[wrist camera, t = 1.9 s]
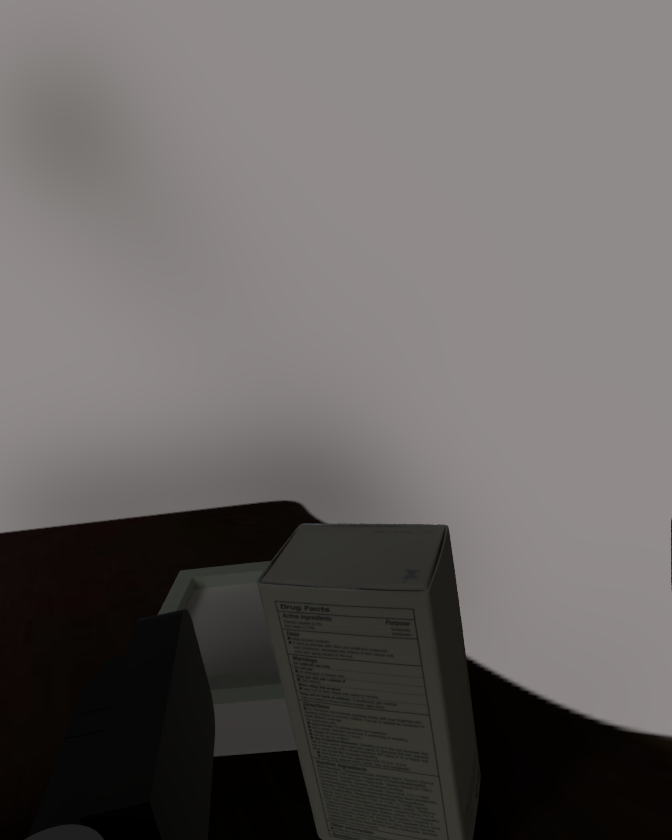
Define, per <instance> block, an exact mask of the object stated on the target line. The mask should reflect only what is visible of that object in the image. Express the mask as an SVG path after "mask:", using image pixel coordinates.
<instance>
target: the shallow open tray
mask: <svg viewBox="0 0 672 840" xmlns="http://www.w3.org/2000/svg"><path fill="white" fill-rule="evenodd" d="M270 562H271V561H266V562H256V563H247V564H238V565H229V566H219V567H210V568H201V569H191V570H182V571H180V572H179V574H178V576H177V578H176V580H175V582H174V584H173V586H172V588H171V590H170V592H169V594H168V596H167V598H166V600H165V602H164V604H163V606H162V608H161V610H160V611H159V613H158V615H160V614H165V613H170V612H174V611H179V610H184V609H187V610H188V612H189V614H190V616H191V619H192V622H193V626H194V629H195V633H196V637H197V641H198V644H199V648H200V652H201V656H202V660H203V663H204V667H205V671H206V675H207V679H208V682H209V686H210V690H211V695H212V700H213V707H214V716H215V742H214V757H215V756H227V755H240V754H252V753H264V752H277V751H289V750H297V746H296V742H295V738H294V734H293V730H292V726H291V722H290V718H289V714H288V709H287V705H286V701H285V697H284V693H283V689H282V685H281V681H280V676H279V672H278V668H277V664H276V660H275V656H274V651H273V647H272V643H271V639H270V635H269V631H268V627H267V623H266V619H265V615H264V611H263V606H262V602H261V598H260V594H259V590H258V586H257V579H258V578H259V577H260V575H261V574H262V572H263V571H264V570H265V569H266V567H267V566H268V565H269V563H270Z"/></svg>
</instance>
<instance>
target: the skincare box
mask: <svg viewBox="0 0 672 840" xmlns="http://www.w3.org/2000/svg"><path fill="white" fill-rule="evenodd" d="M257 586H258V590H259V594H260V598H261V602H262V606H263V611H264V615H265V619H266V623H267V627H268V631H269V635H270V639H271V643H272V647H273V651H274V656H275V660H276V664H277V668H278V672H279V676H280V681H281V685H282V689H283V693H284V697H285V701H286V705H287V709H288V714H289V718H290V722H291V726H292V730H293V734H294V738H295V742H296V746H297V751H298V755H299V760H300V763H301V768H302V772H303V776H304V780H305V784H306V788H307V792H308V796H309V800H310V804H311V808H312V813H313V817H314V821H315V825H316V829H317V833H318V836H319V837H320V839H322V840H473V834H474V828H475V821H476V814H477V807H478V799H479V789H480V780H481V773H480V766H479V758H478V750H477V742H476V733H475V725H474V718H473V710H472V702H471V694H470V684H469V677H468V669H467V661H466V655H465V647H464V638H463V630H462V623H461V616H460V607H459V599H458V592H457V585H456V577H455V569H454V563H453V556H452V548H451V541H450V534H449V528H448V526H447V525H423V524H307V523H306V524H301V525H299V526H298V528H297V529H296V530H295V531H294V533H293V534H292V535H291V537H290V538H289V539H288V540H287V542H286V543H285V544H284V545H283V547H282V548H281V549H280V550H279V552H278V553H277V554H276V555H275V557H274V558H273V559H272V561H271V562H270V563H269V565H268V566H267V567H266V569H265V570H264V571H263V572H262V574H261V575H260V577H259V578H258V579H257Z"/></svg>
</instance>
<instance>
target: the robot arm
mask: <svg viewBox="0 0 672 840" xmlns="http://www.w3.org/2000/svg"><path fill="white" fill-rule="evenodd" d="M671 558H672V520H671ZM671 560H672V559H671ZM671 567H672V561H671ZM671 569H672V568H671ZM671 574H672V572H671ZM671 580H672V577H671ZM671 583H672V581H671ZM73 715H74V720H71V722H70V725H69V727H68V730H67V733H66V736H65V744H62V746H61V749H60V752H59V755H58V757H57V760H56V763H55V766H54V768H53V771H52V774H51V776H50V779H49V782H48V785H47V787H46V790H45V793H44V795H43V798H42V801H41V804H40V806H39V809H38V812H37V814H36V817H35V820H34V823H33V825H32V828H31V831H30V834H29V836H28V838H26V839H24V840H208V829H209V814H210V800H211V785H212V771H213V757H214V742H215V716H214V707H213V700H212V695H211V690H210V686H209V682H208V679H207V675H206V671H205V667H204V663H203V660H202V656H201V652H200V648H199V644H198V641H197V637H196V633H195V629H194V626H193V622H192V619H191V616H190V614H189V612H188V610H187V609H184V610H179V611H174V612H170V613H165V614H160V615H155V616H151V617H146V618H141V619H138V620H137V622H136V625H135V628H134V631H133V635H132V638H131V642H130V645H129V648H128V652H127V655H126V656H122V657H117V658H113V659H108V660H106V661H105V662H104V663H103V664H102V665H101V667H100V668H99V669H98V670H97V671H96V672H95V674H94V675H93V676H92V677H91V678H90V679H89V681H88V682H87V683H86V684H85V685H84V687H83V689H82V692H81V695H80V698H79V700H78V703H77V706H76V708H75V711H74V714H73Z"/></svg>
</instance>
